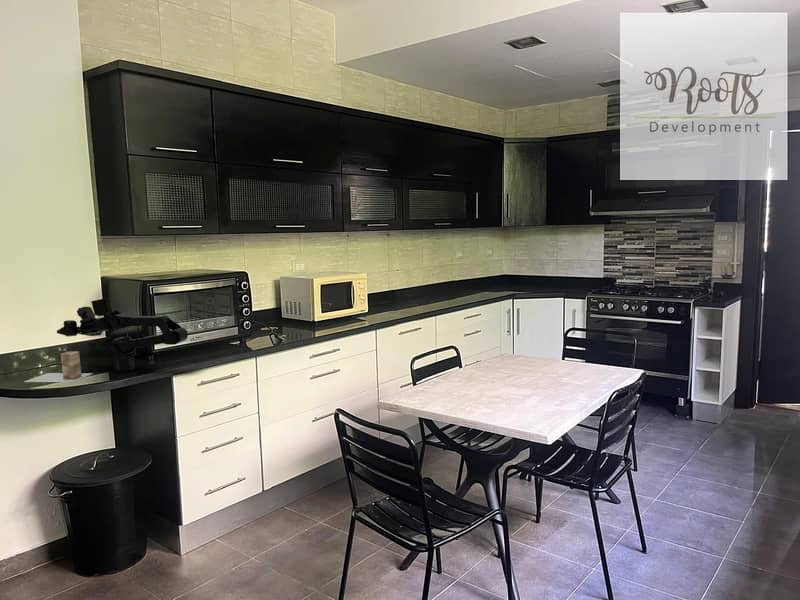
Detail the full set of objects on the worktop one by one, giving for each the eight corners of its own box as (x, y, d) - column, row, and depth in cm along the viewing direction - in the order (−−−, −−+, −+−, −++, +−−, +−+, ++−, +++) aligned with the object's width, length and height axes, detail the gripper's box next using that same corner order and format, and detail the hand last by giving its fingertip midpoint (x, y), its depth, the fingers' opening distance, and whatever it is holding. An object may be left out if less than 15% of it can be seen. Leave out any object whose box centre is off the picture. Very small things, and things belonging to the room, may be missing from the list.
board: (93, 375, 236) (93, 373, 236) (71, 384, 223) (71, 382, 223) (48, 375, 238) (47, 373, 238) (23, 384, 226) (23, 381, 225)
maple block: (81, 376, 231) (78, 351, 230) (73, 379, 227) (71, 354, 225) (71, 376, 232) (68, 351, 230) (63, 379, 227) (60, 354, 226)
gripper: (111, 306, 249) (79, 313, 252) (79, 304, 231) (45, 312, 233) (115, 332, 248) (82, 338, 251) (83, 332, 230) (49, 339, 233)
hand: (65, 331), depth 242 cm, fingers open, 9 cm apart
